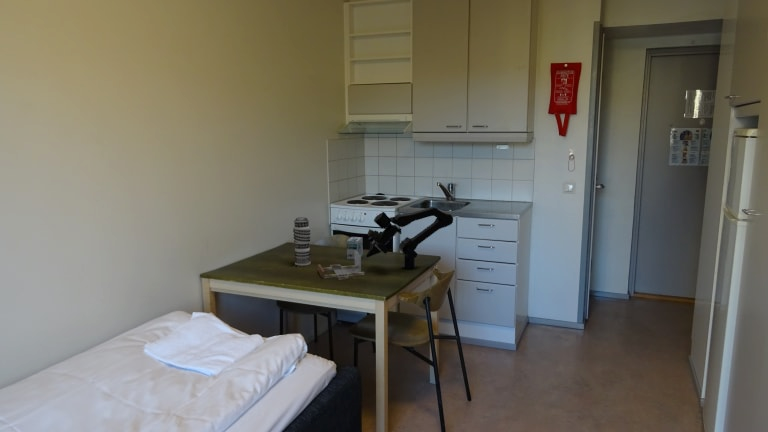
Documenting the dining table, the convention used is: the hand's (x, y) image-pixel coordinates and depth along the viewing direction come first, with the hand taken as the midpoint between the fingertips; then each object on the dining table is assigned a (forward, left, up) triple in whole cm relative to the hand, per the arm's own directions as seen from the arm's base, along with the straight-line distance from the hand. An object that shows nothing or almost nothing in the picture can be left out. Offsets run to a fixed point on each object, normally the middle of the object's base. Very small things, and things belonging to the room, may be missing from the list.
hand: (366, 256), depth 265 cm
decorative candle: (0, -38, -8) cm, 39 cm away
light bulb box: (-23, -18, -8) cm, 30 cm away
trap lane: (+9, -10, -7) cm, 15 cm away
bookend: (+7, -8, -8) cm, 13 cm away
